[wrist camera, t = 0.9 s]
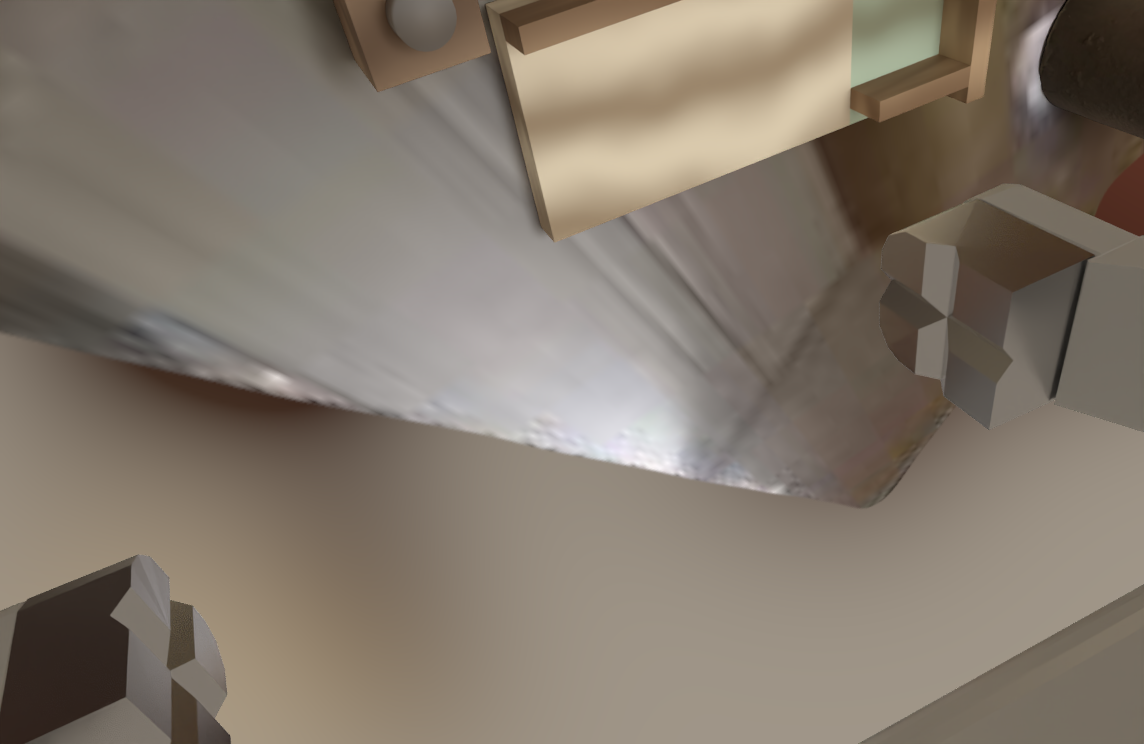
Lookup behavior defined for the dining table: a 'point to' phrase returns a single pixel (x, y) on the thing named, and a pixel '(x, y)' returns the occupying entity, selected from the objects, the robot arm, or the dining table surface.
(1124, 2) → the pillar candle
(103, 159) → the dining table surface
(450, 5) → the knobbed wooden block
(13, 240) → the dining table surface
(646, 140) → the rail board
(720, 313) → the dining table surface
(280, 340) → the dining table surface
